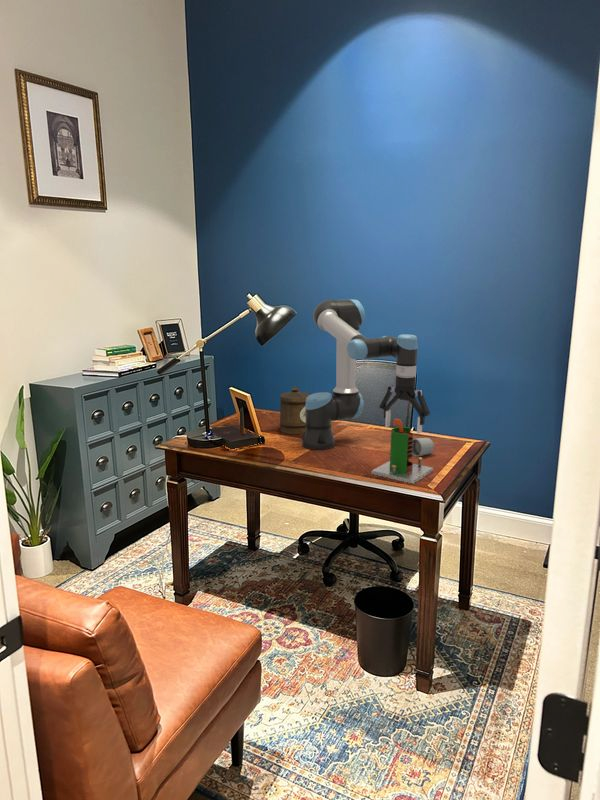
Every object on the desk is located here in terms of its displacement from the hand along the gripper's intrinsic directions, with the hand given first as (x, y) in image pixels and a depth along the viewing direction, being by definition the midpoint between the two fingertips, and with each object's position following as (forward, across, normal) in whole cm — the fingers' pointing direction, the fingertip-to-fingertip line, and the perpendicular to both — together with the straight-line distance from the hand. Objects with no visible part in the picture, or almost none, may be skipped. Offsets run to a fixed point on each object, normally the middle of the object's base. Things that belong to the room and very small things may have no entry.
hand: (403, 429), depth 234 cm
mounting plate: (+18, +1, 0) cm, 18 cm away
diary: (+20, -82, -8) cm, 85 cm away
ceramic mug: (+18, -4, +25) cm, 31 cm away
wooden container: (+19, -70, +24) cm, 77 cm away
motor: (+16, 0, 0) cm, 16 cm away
